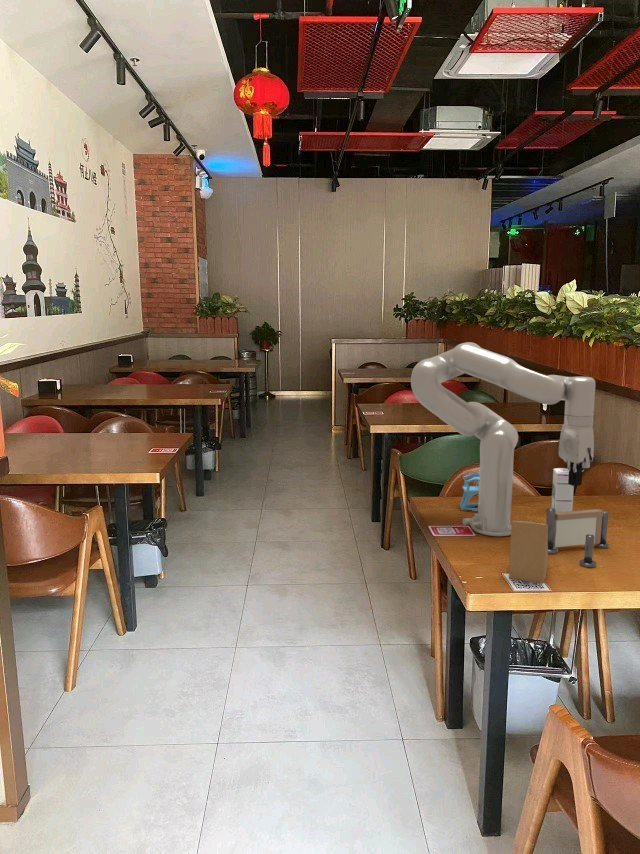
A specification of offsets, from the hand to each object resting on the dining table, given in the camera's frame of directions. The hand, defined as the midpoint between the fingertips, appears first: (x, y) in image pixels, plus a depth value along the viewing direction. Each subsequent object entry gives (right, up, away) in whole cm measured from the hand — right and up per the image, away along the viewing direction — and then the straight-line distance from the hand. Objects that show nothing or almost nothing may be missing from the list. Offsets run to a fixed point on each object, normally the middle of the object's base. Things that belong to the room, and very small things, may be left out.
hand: (574, 484), depth 185 cm
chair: (-21, -11, +32) cm, 40 cm away
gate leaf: (-1, -16, -4) cm, 17 cm away
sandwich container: (-19, -20, -18) cm, 33 cm away
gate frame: (0, -18, -9) cm, 20 cm away
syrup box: (+7, -12, +28) cm, 31 cm away
